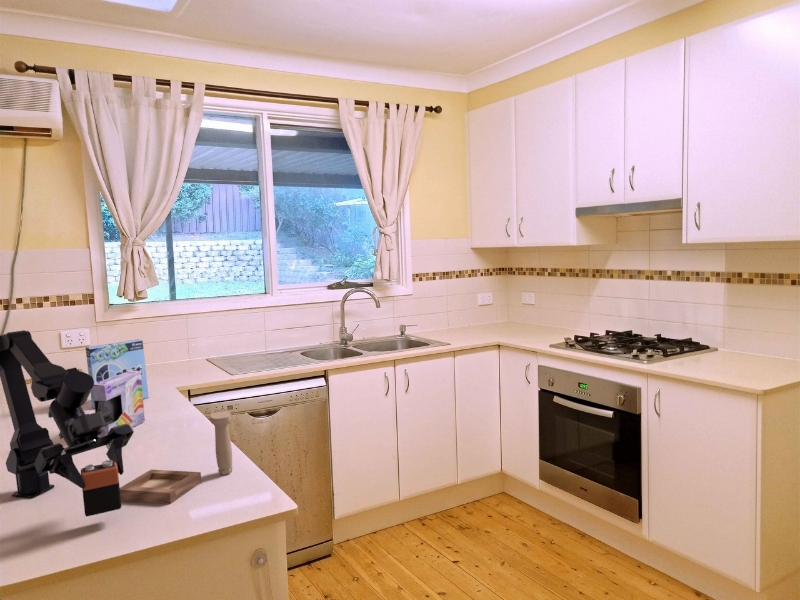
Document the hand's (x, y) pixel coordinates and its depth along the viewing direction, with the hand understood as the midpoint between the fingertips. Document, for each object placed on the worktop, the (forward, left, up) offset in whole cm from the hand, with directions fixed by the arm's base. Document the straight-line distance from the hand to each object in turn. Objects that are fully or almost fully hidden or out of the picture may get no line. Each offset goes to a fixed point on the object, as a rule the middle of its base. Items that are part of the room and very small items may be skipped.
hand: (103, 480), depth 124 cm
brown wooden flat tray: (0, +18, -10) cm, 20 cm away
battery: (-1, 0, -7) cm, 7 cm away
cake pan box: (-44, +58, -10) cm, 73 cm away
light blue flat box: (-70, +88, -10) cm, 113 cm away
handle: (+10, +30, -10) cm, 33 cm away
